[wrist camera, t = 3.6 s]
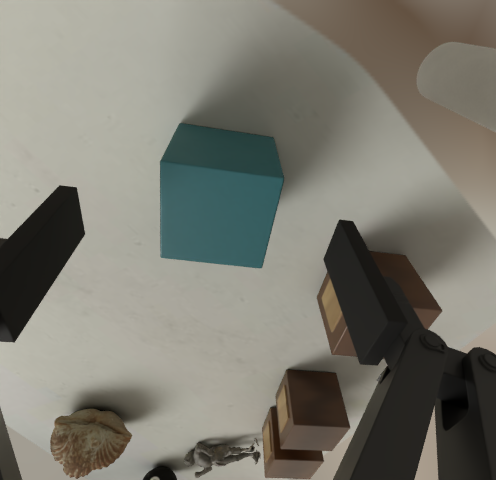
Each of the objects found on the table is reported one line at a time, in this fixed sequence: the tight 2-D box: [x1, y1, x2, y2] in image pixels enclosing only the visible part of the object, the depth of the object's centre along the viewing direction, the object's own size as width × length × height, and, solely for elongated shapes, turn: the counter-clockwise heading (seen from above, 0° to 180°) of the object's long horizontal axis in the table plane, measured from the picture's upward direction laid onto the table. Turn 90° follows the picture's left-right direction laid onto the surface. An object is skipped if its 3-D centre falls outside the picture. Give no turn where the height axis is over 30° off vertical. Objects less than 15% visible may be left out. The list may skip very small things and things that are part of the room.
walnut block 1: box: [276, 370, 350, 451], centre depth 36 cm, size 6×6×6 cm
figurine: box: [184, 438, 260, 477], centre depth 47 cm, size 6×4×12 cm
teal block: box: [160, 123, 284, 268], centre depth 19 cm, size 6×6×6 cm
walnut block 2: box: [262, 407, 324, 479], centre depth 41 cm, size 6×6×6 cm
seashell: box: [50, 409, 132, 479], centre depth 39 cm, size 9×7×8 cm
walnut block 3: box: [317, 251, 442, 359], centre depth 25 cm, size 6×6×6 cm
